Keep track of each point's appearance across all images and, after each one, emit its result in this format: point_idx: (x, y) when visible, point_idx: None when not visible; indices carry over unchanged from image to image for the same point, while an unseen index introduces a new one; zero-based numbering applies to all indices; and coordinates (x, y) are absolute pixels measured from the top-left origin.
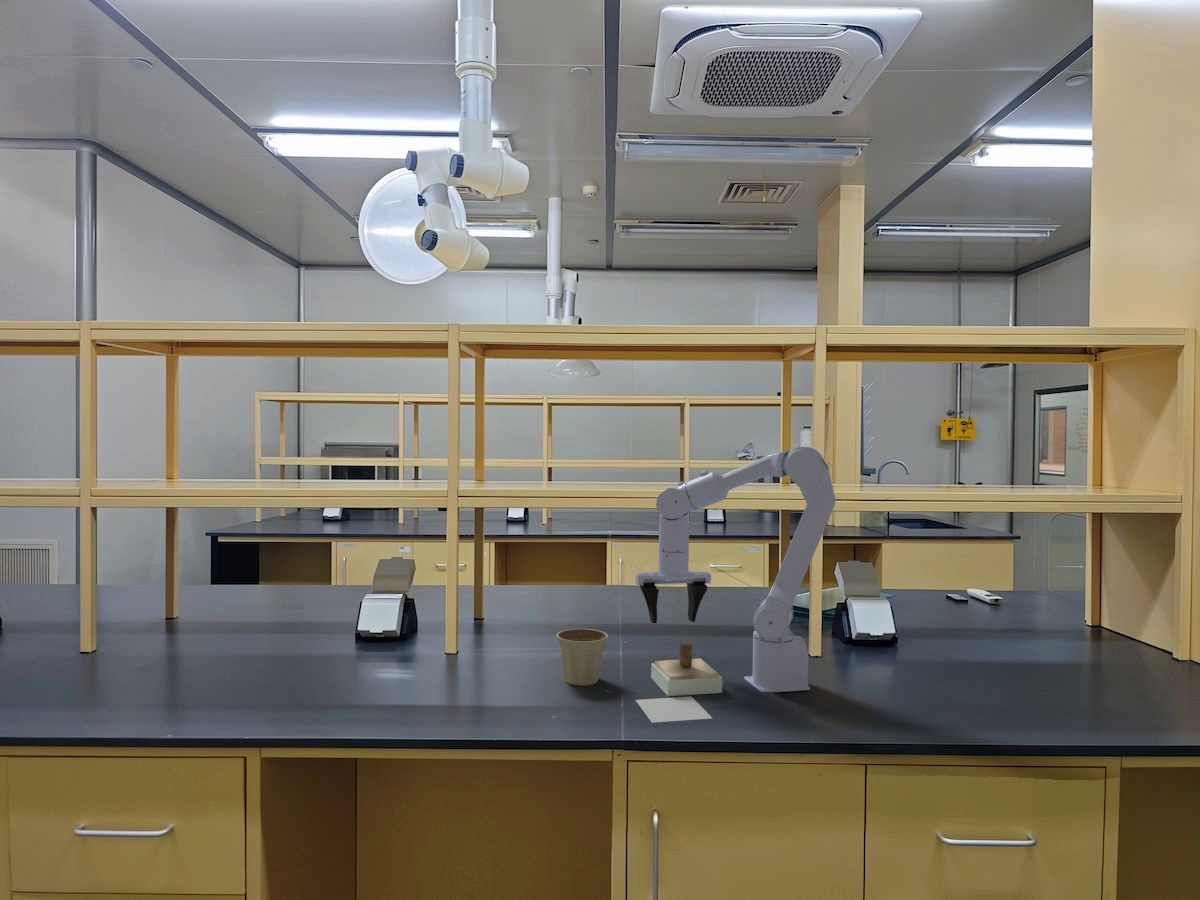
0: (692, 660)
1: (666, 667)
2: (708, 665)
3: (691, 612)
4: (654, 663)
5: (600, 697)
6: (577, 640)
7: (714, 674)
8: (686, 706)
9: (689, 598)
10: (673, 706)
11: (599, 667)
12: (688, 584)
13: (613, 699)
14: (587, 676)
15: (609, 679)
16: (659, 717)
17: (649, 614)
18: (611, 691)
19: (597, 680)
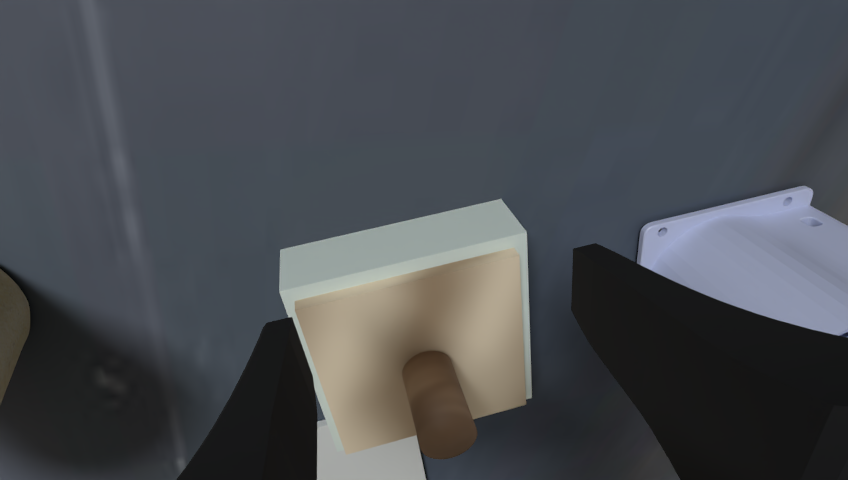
0: (475, 285)
1: (344, 377)
2: (521, 335)
3: (606, 341)
4: (294, 292)
5: (90, 431)
6: None
7: (510, 406)
8: (380, 463)
9: (683, 361)
10: (343, 469)
11: (11, 369)
12: (816, 451)
13: (144, 437)
14: None
15: (79, 264)
16: None
17: (252, 354)
18: (121, 381)
19: (28, 330)
